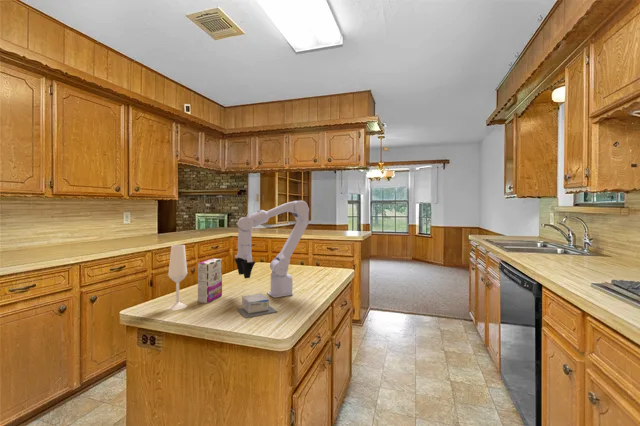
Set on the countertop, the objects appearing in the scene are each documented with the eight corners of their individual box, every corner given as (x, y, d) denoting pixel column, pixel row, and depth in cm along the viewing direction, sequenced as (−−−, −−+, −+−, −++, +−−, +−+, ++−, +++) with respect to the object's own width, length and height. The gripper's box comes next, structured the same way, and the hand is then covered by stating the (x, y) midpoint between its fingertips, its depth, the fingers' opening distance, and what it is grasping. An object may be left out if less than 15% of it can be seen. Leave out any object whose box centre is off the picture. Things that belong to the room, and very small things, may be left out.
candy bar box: (212, 294, 132) (212, 258, 131) (222, 295, 131) (222, 258, 130) (196, 302, 121) (197, 262, 120) (207, 303, 120) (208, 263, 119)
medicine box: (241, 307, 115) (248, 314, 108) (241, 295, 115) (248, 302, 108) (261, 303, 119) (269, 310, 112) (261, 292, 119) (269, 299, 112)
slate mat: (267, 305, 120) (267, 303, 120) (276, 312, 112) (276, 311, 112) (237, 310, 113) (237, 308, 113) (245, 318, 105) (245, 316, 105)
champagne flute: (183, 303, 120) (183, 244, 120) (189, 307, 115) (190, 245, 115) (165, 306, 115) (166, 245, 115) (171, 311, 111) (171, 247, 110)
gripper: (230, 243, 132) (230, 273, 132) (240, 247, 120) (240, 280, 120) (246, 242, 136) (245, 272, 136) (257, 246, 124) (257, 278, 124)
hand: (244, 276), depth 128 cm, fingers open, 7 cm apart
